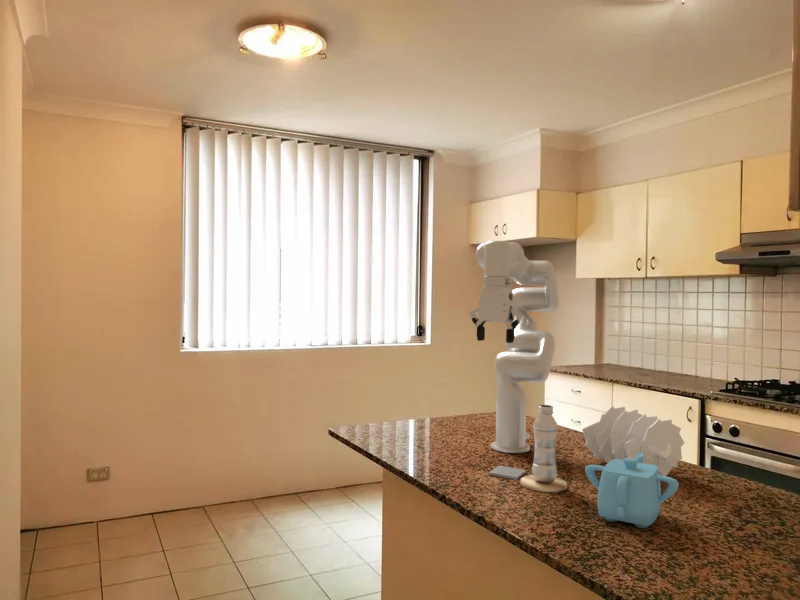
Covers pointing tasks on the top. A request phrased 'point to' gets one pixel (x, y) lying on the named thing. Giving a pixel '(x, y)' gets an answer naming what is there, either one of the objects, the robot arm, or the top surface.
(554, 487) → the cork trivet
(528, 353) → the robot arm
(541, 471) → the silver metal bottle
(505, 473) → the slate coaster
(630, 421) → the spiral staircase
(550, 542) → the top surface
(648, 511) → the teapot
